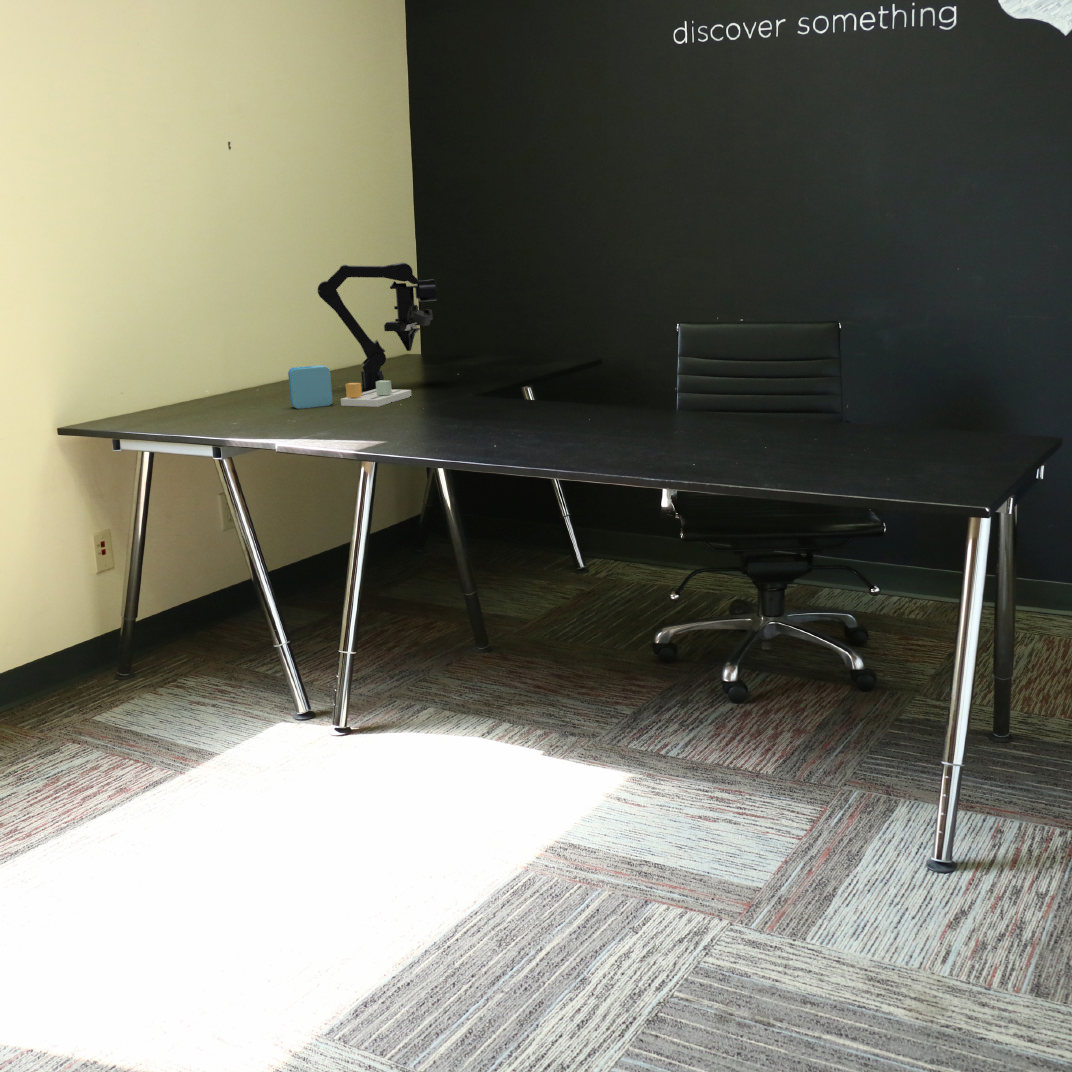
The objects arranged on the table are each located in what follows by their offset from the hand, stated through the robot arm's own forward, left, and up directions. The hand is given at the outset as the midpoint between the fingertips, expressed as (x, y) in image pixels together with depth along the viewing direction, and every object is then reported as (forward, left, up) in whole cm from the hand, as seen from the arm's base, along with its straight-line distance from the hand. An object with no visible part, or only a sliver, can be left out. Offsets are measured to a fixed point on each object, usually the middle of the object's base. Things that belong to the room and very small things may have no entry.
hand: (408, 350), depth 384 cm
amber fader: (0, -34, -10) cm, 36 cm away
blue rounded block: (-11, -40, -12) cm, 44 cm away
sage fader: (+7, -28, -10) cm, 31 cm away
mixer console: (+4, -27, -12) cm, 30 cm away
